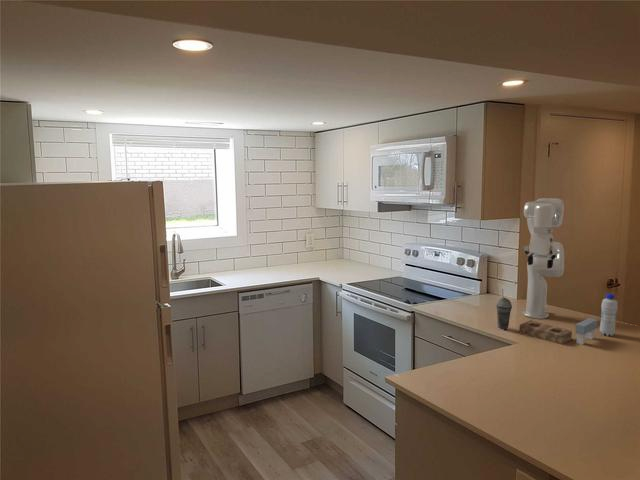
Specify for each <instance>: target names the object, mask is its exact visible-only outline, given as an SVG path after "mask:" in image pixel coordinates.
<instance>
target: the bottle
mask: <svg viewBox="0 0 640 480" xmlns="http://www.w3.org/2000/svg"><path fill="white" fill-rule="evenodd" d="M600 307H601V308H600V310H601V315H600V317H601V318H600V325H599V333H600V334H601V335H602V336H604V335H606V337H609V336H610V337H612V336H614V335H615V334H616V320H617V312H618V308H619V307H618V300H616V299H615V294H614V293H606V294H605V298H604V299H602V302H601V305H600Z"/></svg>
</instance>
